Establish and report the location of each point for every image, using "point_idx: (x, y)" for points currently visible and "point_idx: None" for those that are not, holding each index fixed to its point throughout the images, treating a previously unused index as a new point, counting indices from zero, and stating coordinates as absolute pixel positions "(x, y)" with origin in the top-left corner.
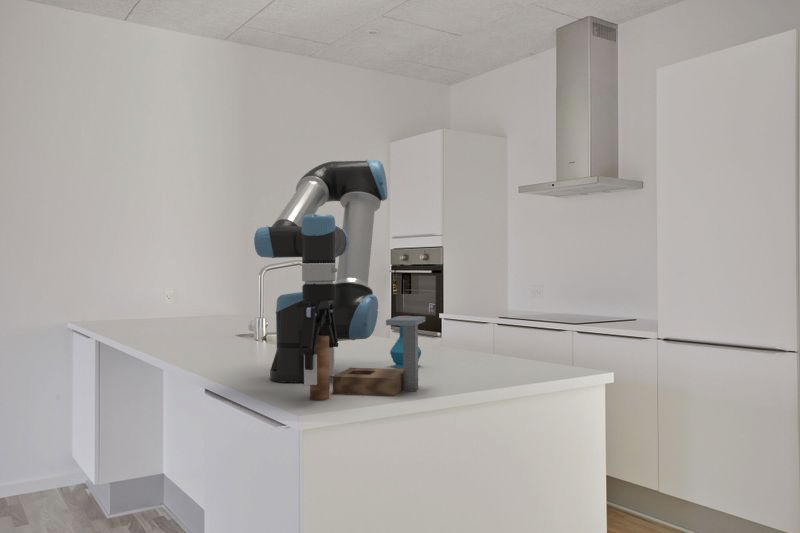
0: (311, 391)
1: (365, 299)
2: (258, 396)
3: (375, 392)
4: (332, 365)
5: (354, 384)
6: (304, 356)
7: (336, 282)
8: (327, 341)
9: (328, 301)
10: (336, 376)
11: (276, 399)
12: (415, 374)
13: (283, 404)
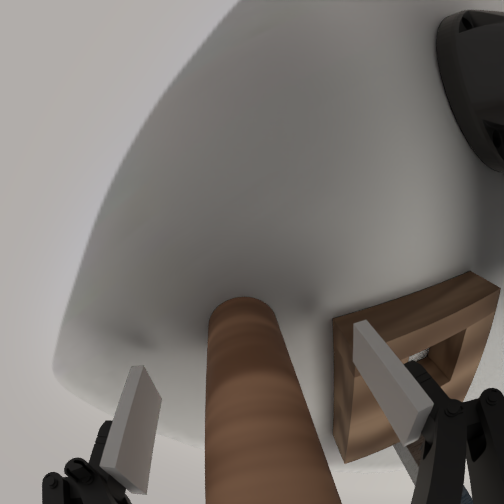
0: (210, 331)
1: None
2: (187, 86)
3: (336, 414)
4: (369, 386)
5: (343, 392)
6: (103, 460)
7: None
8: None
9: None
10: None
11: (161, 191)
12: (398, 454)
13: (106, 270)
